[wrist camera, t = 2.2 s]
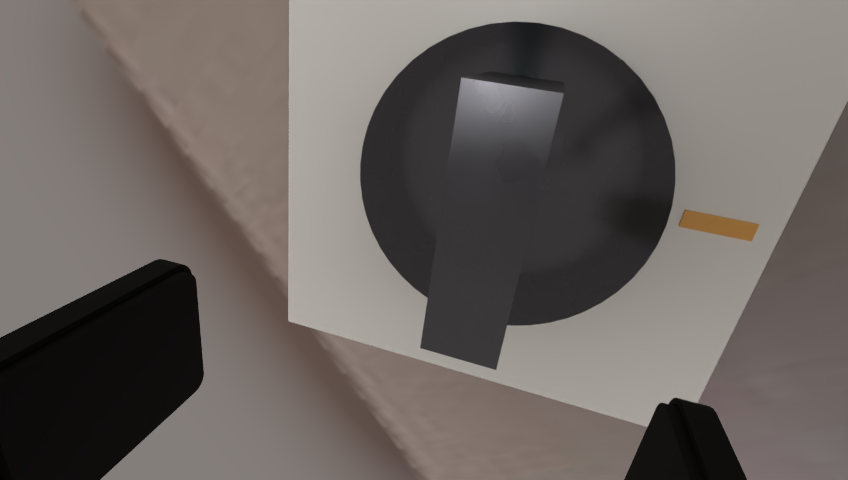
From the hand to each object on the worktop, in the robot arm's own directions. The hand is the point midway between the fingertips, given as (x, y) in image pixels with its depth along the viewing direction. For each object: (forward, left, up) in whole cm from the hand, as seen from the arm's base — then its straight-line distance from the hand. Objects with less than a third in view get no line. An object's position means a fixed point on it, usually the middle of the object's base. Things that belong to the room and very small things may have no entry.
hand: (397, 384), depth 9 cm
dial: (0, 0, -15) cm, 15 cm away
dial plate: (0, 0, -17) cm, 17 cm away
